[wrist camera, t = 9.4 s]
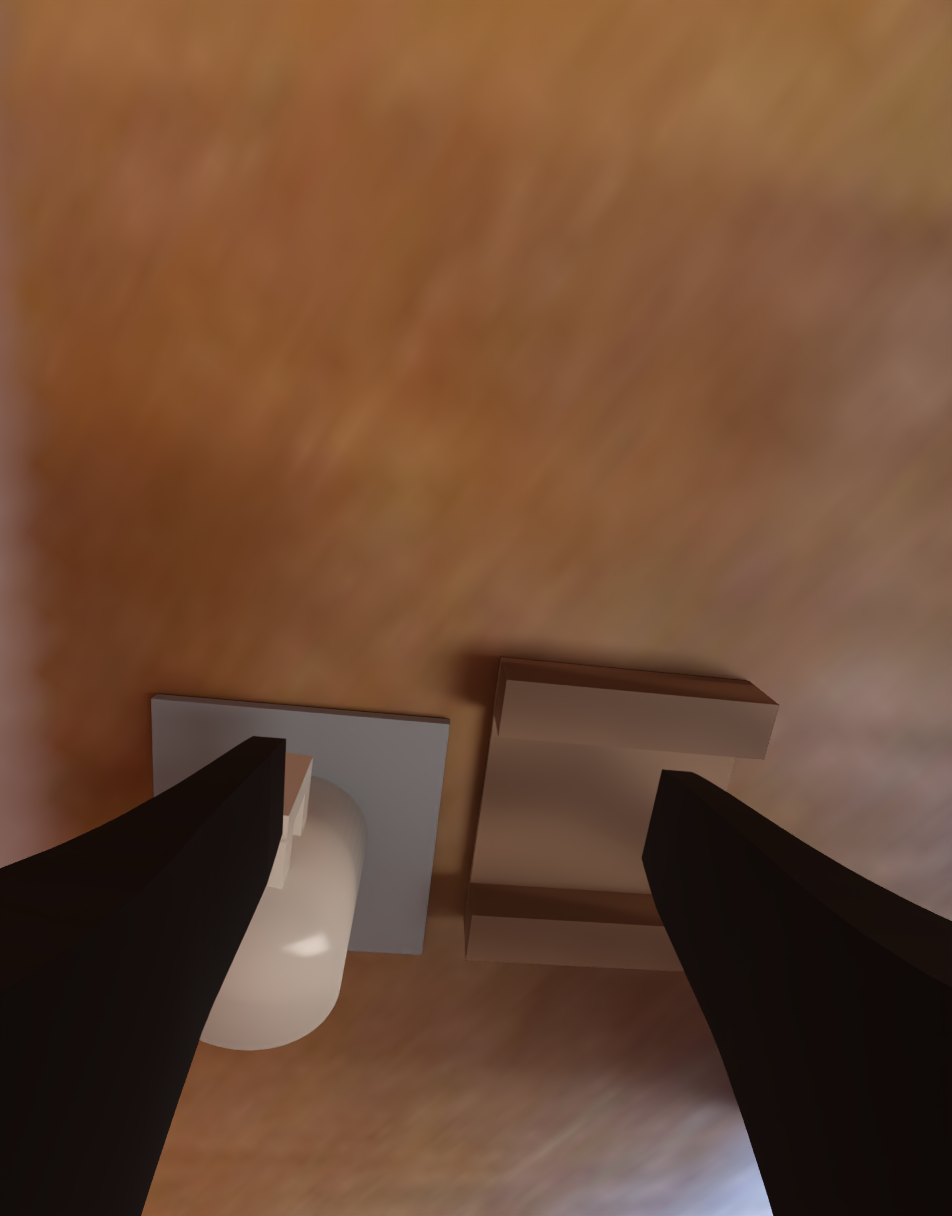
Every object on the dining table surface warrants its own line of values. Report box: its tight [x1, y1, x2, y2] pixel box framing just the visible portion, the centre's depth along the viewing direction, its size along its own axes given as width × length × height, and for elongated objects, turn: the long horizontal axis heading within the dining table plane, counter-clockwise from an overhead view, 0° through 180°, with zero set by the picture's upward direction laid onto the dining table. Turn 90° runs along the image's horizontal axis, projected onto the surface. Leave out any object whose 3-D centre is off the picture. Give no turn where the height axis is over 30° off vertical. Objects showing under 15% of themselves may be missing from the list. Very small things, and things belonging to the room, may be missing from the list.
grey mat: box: [151, 694, 450, 955], centre depth 22 cm, size 10×10×1 cm
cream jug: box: [200, 753, 368, 1050], centre depth 18 cm, size 7×5×6 cm
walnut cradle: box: [464, 657, 779, 972], centre depth 22 cm, size 11×9×2 cm
